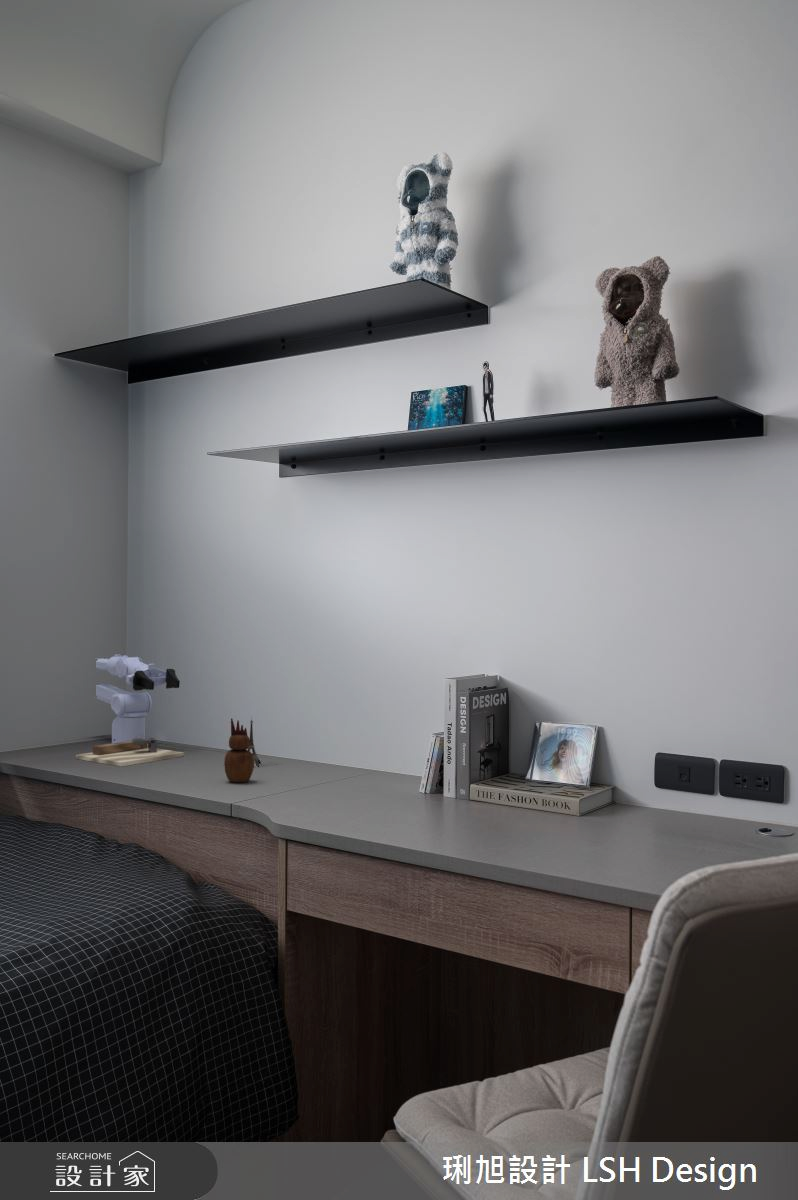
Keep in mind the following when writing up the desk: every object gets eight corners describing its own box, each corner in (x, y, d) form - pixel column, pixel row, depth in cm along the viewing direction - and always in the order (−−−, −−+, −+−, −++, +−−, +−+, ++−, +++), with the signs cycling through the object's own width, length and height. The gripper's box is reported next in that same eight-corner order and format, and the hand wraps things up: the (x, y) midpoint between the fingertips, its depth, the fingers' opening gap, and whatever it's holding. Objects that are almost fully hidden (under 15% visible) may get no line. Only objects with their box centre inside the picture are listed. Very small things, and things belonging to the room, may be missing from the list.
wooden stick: (140, 746, 272) (140, 735, 272) (147, 747, 271) (147, 736, 271) (92, 753, 260) (92, 742, 260) (99, 754, 258) (99, 743, 258)
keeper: (131, 751, 265) (132, 739, 265) (154, 750, 267) (154, 738, 267) (134, 753, 261) (134, 741, 261) (156, 752, 264) (156, 740, 264)
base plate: (75, 758, 258) (75, 754, 258) (139, 749, 275) (139, 745, 275) (121, 766, 247) (121, 762, 247) (184, 756, 264) (184, 752, 264)
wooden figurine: (220, 782, 226) (220, 719, 226) (231, 778, 232) (232, 716, 232) (246, 784, 224) (247, 720, 224) (257, 780, 230) (257, 717, 230)
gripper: (120, 661, 269) (142, 672, 259) (167, 659, 279) (190, 669, 268) (118, 686, 270) (140, 697, 260) (165, 683, 279) (188, 694, 269)
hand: (165, 685), depth 264 cm, fingers open, 7 cm apart
